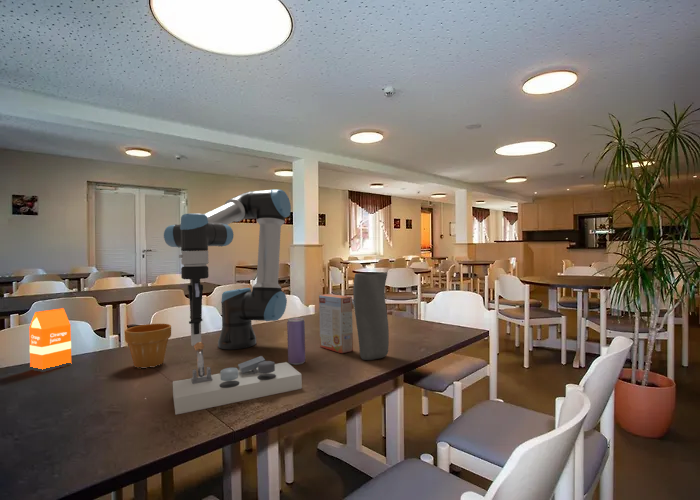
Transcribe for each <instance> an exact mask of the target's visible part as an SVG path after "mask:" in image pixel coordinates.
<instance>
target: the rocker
mask: <svg viewBox="0 0 700 500" xmlns="http://www.w3.org/2000/svg"><path fill="white" fill-rule="evenodd" d="M264 361H267V360H266V359H265V358H264V357H263V355H260V356H257V357H254V358H252V359H249V360H246V361H244V362H241V363H238V364H237V367H238V370H240V371H241V372H242V373H245V372H247V371H250V370H252V369H255V368H258V364H259V363H260V362H264Z"/></svg>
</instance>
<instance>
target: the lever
mask: <svg viewBox="0 0 700 500" xmlns="http://www.w3.org/2000/svg"><path fill="white" fill-rule="evenodd" d="M193 347H194V348H193V349H194V350H195V351H196V361H197V362H196V364H197V371H198V372H197V373H198V374H197V376H198V377H203V376H206V374H205V361H204V352H203V351H204V348H205V344H204V343H203V342H202V341H201V342H198V343H196V344H195V345H193Z"/></svg>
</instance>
